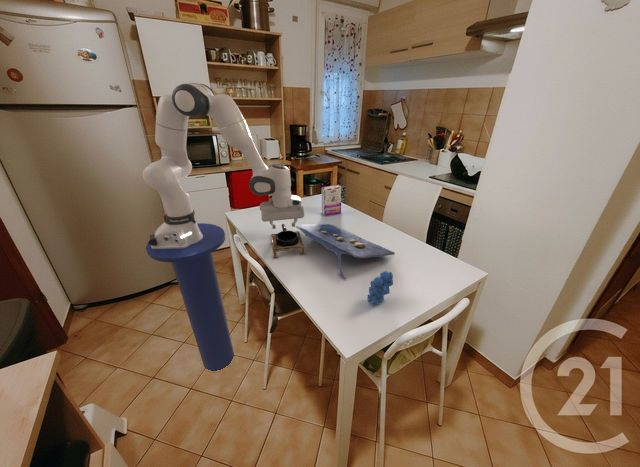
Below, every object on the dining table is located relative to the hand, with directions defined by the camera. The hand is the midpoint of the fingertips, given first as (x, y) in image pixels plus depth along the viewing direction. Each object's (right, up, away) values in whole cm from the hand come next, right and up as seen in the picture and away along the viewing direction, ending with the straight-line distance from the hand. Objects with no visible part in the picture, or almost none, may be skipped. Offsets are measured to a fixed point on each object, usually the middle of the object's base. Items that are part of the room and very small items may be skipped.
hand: (283, 227), depth 127 cm
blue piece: (+27, -10, -4) cm, 29 cm away
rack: (+2, -10, -5) cm, 11 cm away
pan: (+2, -5, -4) cm, 6 cm away
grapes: (+37, -26, -35) cm, 58 cm away
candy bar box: (+24, +9, +32) cm, 41 cm away
